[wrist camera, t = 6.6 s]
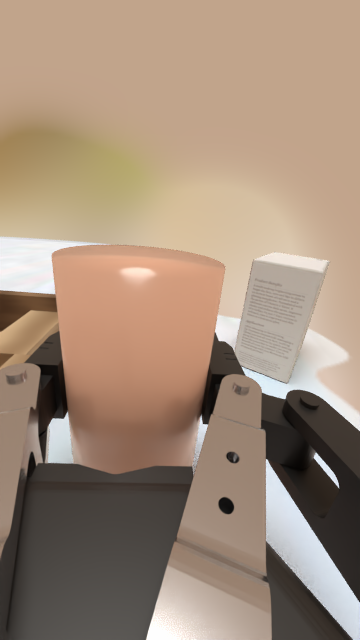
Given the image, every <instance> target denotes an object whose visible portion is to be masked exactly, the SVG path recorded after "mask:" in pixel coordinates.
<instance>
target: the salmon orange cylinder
mask: <svg viewBox="0 0 360 640" xmlns="http://www.w3.org/2000/svg"><path fill="white" fill-rule="evenodd" d="M52 264H53V273H54V283H55V293H56V302H57V312H58V321H59V331H60V340H61V350H62V359H63V369H64V378H65V388H66V398H67V407H68V417H69V426H70V436H71V445H72V455H73V464H80V465H83V466H86V467H90V468H93V469H97V470H100V471H104V472H107V473H111V474H121V473H125V472H130V471H134V470H138V469H143V468H147V467H152V466H192V465H193V459H194V453H195V447H196V441H197V435H198V429H199V423H200V417H201V411H202V405H203V399H204V393H205V387H206V381H207V375H208V369H209V363H210V357H211V351H212V345H213V339H214V333H215V327H216V321H217V315H218V309H219V303H220V297H221V291H222V285H223V279H224V273H225V266H224V264H222V263H221V262H219V261H217V260H214V259H212V258H209V257H206V256H202V255H198V254H193V253H189V252H183V251H178V250H171V249H163V248H154V247H144V246H129V245H86V246H75V247H68V248H63V249H60V250H57V251H55V252H54V253H52Z"/></svg>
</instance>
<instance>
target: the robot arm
mask: <svg viewBox="0 0 360 640" xmlns="http://www.w3.org/2000/svg"><path fill="white" fill-rule="evenodd" d="M67 411H68V407H67V398H66V388H65V378H64V369H63V359H62V350H61V340H60V331H58V332H56V333H54V334H52V335H50V336H49V337H48V338H47V339H46V340H45V341H44V343H42V344H41V345H40V346H39V348H38V349H37V350H36V351H35V352H34V353H33V354H32V355H31V356H30V357H29V358H28V359H27V360H26V361H25V362H24V363H19V364H14V365H10V366H7V367H5V368H2V369H0V640H353V639H352V638H351V637H350V636H349V635H348V634H347V632H346V631H345V630H344V629H343V628H342V627H341V626H340V625H339V623H338V622H337V621H336V620H335V619H334V618H333V617H332V615H331V614H330V613H329V612H328V611H327V610H326V609H325V607H324V606H323V605H322V604H321V603H320V602H319V601H318V600H317V598H316V597H315V596H314V595H313V594H312V593H311V592H310V590H309V589H308V588H307V587H306V586H305V585H304V584H303V582H302V581H301V580H300V579H299V578H298V577H297V576H296V575H295V573H294V572H293V571H292V570H291V569H290V568H289V567H288V565H287V564H286V563H285V562H284V561H283V560H282V559H281V557H280V556H279V555H278V554H277V553H276V552H275V551H274V549H273V548H272V547H271V546H270V545H269V544H268V543H267V542H266V459H267V460H268V461H269V463H270V465H271V467H272V468H273V470H274V471H275V473H276V474H277V476H278V478H279V479H280V481H281V482H282V484H283V485H284V487H285V488H286V490H287V491H288V493H289V494H290V496H291V498H292V499H293V501H294V502H295V504H296V505H297V507H298V508H299V510H300V511H301V513H302V514H303V516H304V518H305V519H306V521H307V522H308V524H309V525H310V527H311V528H312V530H313V531H314V533H315V534H316V536H317V538H318V539H319V541H320V542H321V544H322V545H323V547H324V548H325V550H326V551H327V553H328V554H329V556H330V558H331V559H332V561H333V562H334V564H335V565H336V567H337V568H338V570H339V571H340V573H341V574H342V576H343V578H344V579H345V581H346V582H347V584H348V585H349V587H350V588H351V590H352V591H353V593H354V594H355V596H356V598H357V599H358V601H359V602H360V431H359V430H358V429H356V428H355V427H354V426H353V425H352V424H351V423H350V422H348V421H347V420H346V419H345V418H344V417H343V416H342V415H340V414H339V413H338V412H337V411H336V410H335V409H334V408H332V407H331V406H330V405H329V404H328V403H327V402H326V401H324V400H323V399H322V398H320V397H319V396H317V395H315V394H313V393H310V392H307V391H303V390H292V391H290V392H288V394H287V396H286V399H281V398H277V397H273V396H270V395H266V394H264V393H262V390H261V387H260V386H259V384H258V383H257V382H256V381H254V380H253V379H251V378H249V377H247V376H245V374H244V372H243V369H242V367H241V365H240V363H239V361H238V359H237V357H236V355H235V353H234V351H233V348H232V347H231V346H230V345H229V344H227V343H226V342H223V341H219V340H218V338H217V335H216V333H214V339H213V345H212V351H211V357H210V363H209V369H208V375H207V381H206V387H205V393H204V399H203V405H202V411H201V415H202V421H203V424H208V427H207V431H206V435H205V438H204V442H203V445H202V449H201V452H200V456H199V459H198V463H197V467H196V470H195V474H194V477H193V469H192V466H152V467H147V468H143V469H138V470H134V471H130V472H125V473H121V474H111V473H107V472H104V471H100V470H97V469H93V468H90V467H86V466H83V465H80V464H62V463H48V451H49V434H50V431H49V424H50V422H51V420H52V418H61V419H64V417H65V415H66V413H67ZM315 453H317V454H318V455H319V456H320V457H321V458H322V460H323V461H324V462H325V463H326V464H327V465H328V466H329V468H330V469H331V470H332V471H333V472H334V474H335V476H336V477H337V480H338V483H339V488H338V487H337V486H336V484H335V483H334V482H333V481H332V480H331V478H330V477H329V476H328V475H327V474H326V472H325V471H324V470H323V469H322V468H321V466H320V465H319V464H318V463H317V462H316V460H315V459H314V458H313V457H314V455H315Z"/></svg>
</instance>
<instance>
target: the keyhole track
mask: <svg viewBox="0 0 360 640" xmlns="http://www.w3.org/2000/svg"><path fill="white" fill-rule="evenodd" d="M58 331H59V321H58V312H57V302H56V294H42V293H28V292H15V291H1V290H0V369H2V368H5V367H7V366H10V365H14V364H19V363H24V362H25V361H26V360H27V359H28V358H29V357H30V356H31V355H32V354H33V353H34V352H35V351H36V350H37V349H38V348H39V346H40V345H41V344H42V343H44V341H45V340H46V339H47V338H48V337H49V336H50V335H52V334H54V333H56V332H58Z"/></svg>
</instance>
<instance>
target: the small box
mask: <svg viewBox="0 0 360 640" xmlns="http://www.w3.org/2000/svg"><path fill="white" fill-rule="evenodd" d="M329 263H330V262H329V261H326V260H321V259H315V258H309V257H303V256H297V255H291V254H284V253H278V252H274V253H271V254H268V255H265V256H263V257H260V258H257V259H254V260H253V263H252V268H251V273H250V278H249V283H248V288H247V292H246V298H245V303H244V308H243V313H242V318H241V322H240V327H239V332H238V337H237V342H236V347H235V352H234V353H235V355H236V357H237V359H238V361H239V363H240V365H241V366H243V367H246V368H248V369H251V370H254V371H256V372H259V373H261V374H264V375H266V376H269V377H271V378H274V379H277V380H279V381H282V382H285V383H288V381H289V378H290V376H291V373H292V370H293V368H294V365H295V362H296V359H297V357H298V354H299V352H300V349H301V346H302V344H303V341H304V338H305V335H306V332H307V329H308V326H309V323H310V320H311V317H312V314H313V311H314V308H315V305H316V302H317V299H318V296H319V293H320V290H321V287H322V284H323V281H324V278H325V275H326V272H327V269H328V266H329Z"/></svg>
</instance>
